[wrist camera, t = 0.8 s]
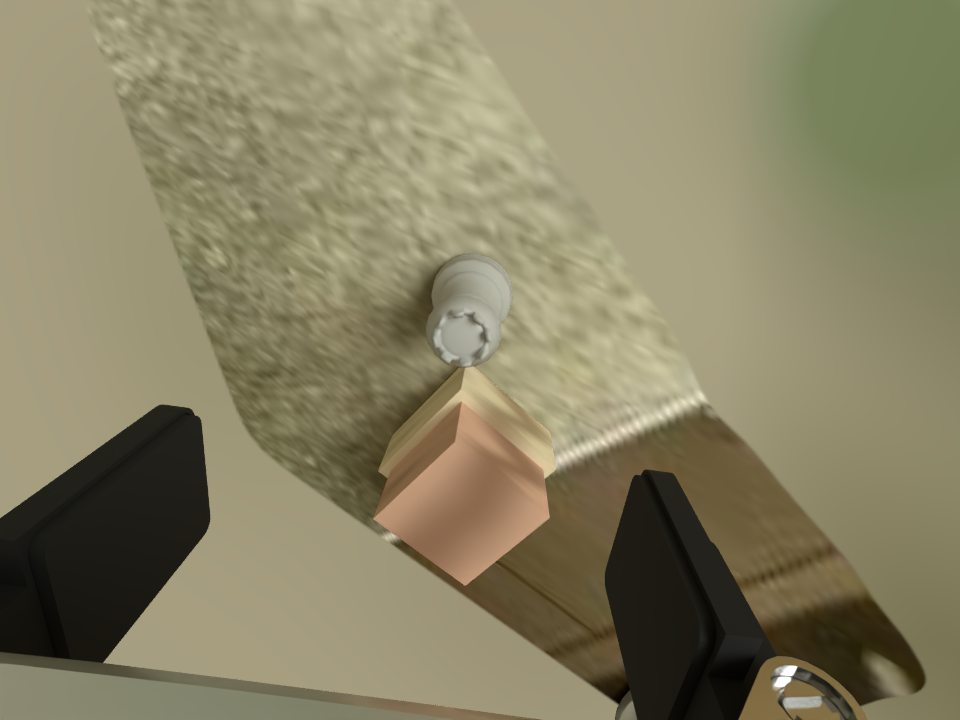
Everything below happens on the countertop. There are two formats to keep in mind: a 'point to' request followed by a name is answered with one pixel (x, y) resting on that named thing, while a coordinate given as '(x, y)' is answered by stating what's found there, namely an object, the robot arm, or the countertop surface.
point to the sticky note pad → (466, 476)
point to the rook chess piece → (468, 310)
